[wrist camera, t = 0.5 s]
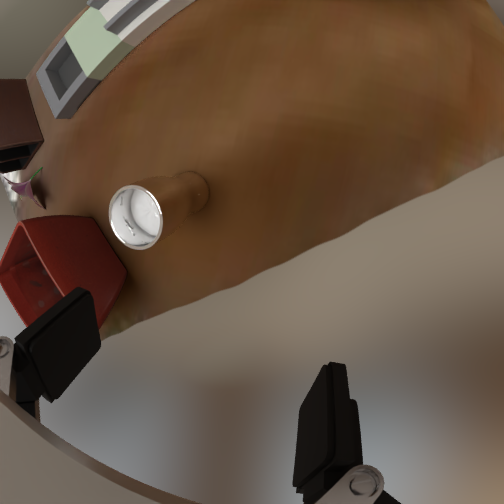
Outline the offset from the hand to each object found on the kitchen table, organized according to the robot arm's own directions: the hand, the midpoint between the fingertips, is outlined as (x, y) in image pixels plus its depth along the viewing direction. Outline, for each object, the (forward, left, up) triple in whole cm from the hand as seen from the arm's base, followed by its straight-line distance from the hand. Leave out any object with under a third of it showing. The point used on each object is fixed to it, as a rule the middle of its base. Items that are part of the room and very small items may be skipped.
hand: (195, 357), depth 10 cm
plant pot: (+34, -10, -30) cm, 47 cm away
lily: (+37, -31, -30) cm, 57 cm away
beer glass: (+9, -8, -30) cm, 32 cm away
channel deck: (-3, -41, -30) cm, 51 cm away
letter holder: (+33, -47, -30) cm, 65 cm away
